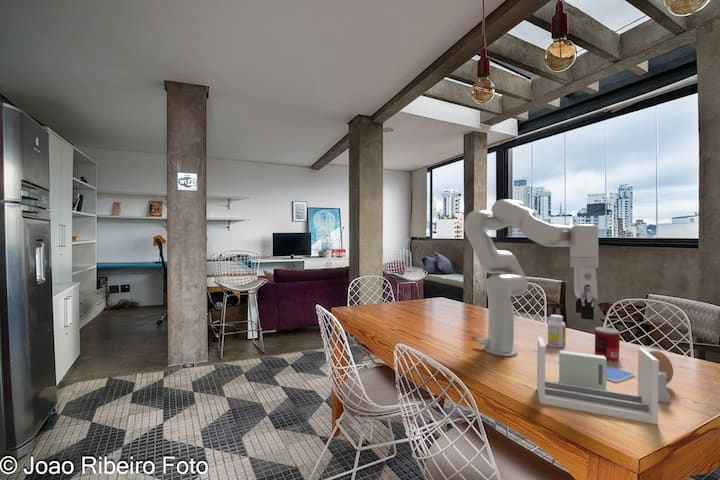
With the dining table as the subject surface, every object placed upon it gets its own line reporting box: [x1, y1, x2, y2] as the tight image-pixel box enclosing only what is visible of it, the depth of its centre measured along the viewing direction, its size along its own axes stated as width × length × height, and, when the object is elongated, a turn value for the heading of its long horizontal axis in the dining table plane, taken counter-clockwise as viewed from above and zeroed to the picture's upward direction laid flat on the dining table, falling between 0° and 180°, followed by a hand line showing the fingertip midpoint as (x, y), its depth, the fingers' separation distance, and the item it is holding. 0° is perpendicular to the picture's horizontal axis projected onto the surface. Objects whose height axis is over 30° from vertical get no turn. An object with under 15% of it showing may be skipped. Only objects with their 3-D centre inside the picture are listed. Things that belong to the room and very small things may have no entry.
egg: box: [648, 350, 674, 385], centre depth 107 cm, size 8×8×11 cm
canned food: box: [594, 326, 621, 362], centre depth 131 cm, size 8×8×11 cm
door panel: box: [558, 349, 608, 391], centre depth 105 cm, size 12×3×10 cm, turn 66°
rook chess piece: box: [658, 371, 672, 404], centre depth 97 cm, size 4×4×8 cm
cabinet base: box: [536, 336, 659, 425], centre depth 93 cm, size 26×10×16 cm, turn 66°
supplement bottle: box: [547, 314, 567, 348], centre depth 146 cm, size 7×7×13 cm
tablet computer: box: [606, 365, 636, 384], centre depth 119 cm, size 19×13×1 cm, turn 27°
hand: (584, 315), depth 108 cm, fingers open, 9 cm apart
